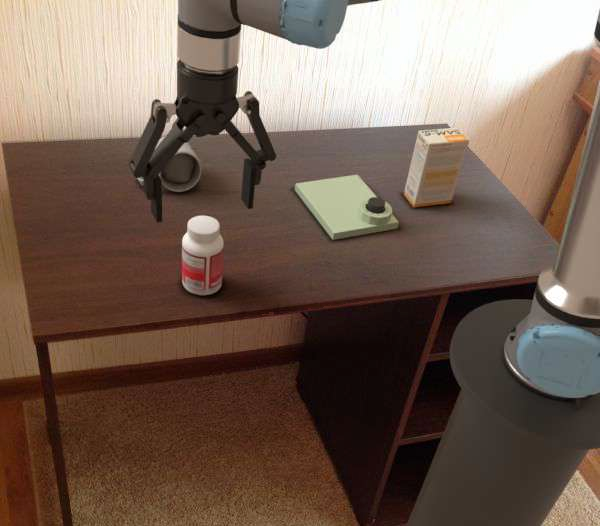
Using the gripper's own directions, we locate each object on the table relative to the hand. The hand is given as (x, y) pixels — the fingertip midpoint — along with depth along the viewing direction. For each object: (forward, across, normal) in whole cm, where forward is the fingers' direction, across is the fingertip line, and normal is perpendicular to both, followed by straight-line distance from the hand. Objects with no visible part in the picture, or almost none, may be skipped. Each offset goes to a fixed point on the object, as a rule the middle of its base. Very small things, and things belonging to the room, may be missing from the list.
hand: (202, 210), depth 108 cm
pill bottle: (+14, 0, 0) cm, 14 cm away
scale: (+13, -32, -13) cm, 37 cm away
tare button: (+11, -35, -8) cm, 38 cm away
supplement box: (+13, -49, -12) cm, 52 cm away
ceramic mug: (+14, -4, -29) cm, 32 cm away
